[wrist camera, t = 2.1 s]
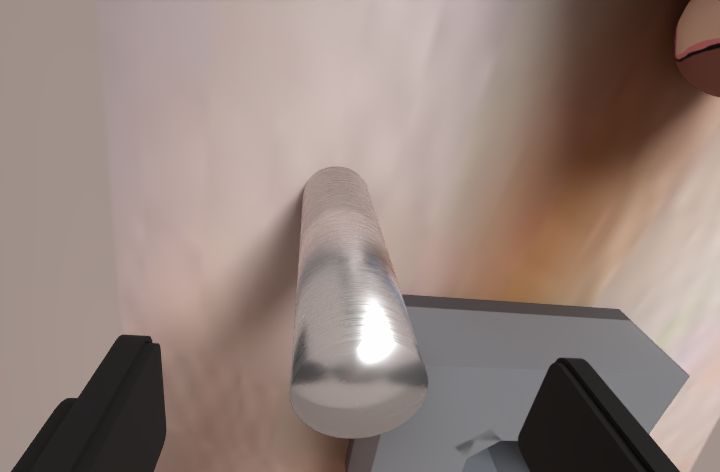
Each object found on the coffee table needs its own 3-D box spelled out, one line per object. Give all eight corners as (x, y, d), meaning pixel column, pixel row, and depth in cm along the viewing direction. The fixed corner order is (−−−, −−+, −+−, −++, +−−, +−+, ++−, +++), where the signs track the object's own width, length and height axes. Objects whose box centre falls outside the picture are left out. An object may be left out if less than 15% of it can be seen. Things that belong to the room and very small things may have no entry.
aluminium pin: (306, 162, 18) (295, 335, 8) (373, 170, 18) (443, 342, 8) (300, 225, 19) (285, 437, 9) (363, 230, 19) (412, 439, 10)
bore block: (381, 293, 21) (399, 364, 17) (619, 309, 23) (689, 376, 19) (345, 463, 27) (351, 547, 23) (535, 463, 30) (574, 540, 25)
